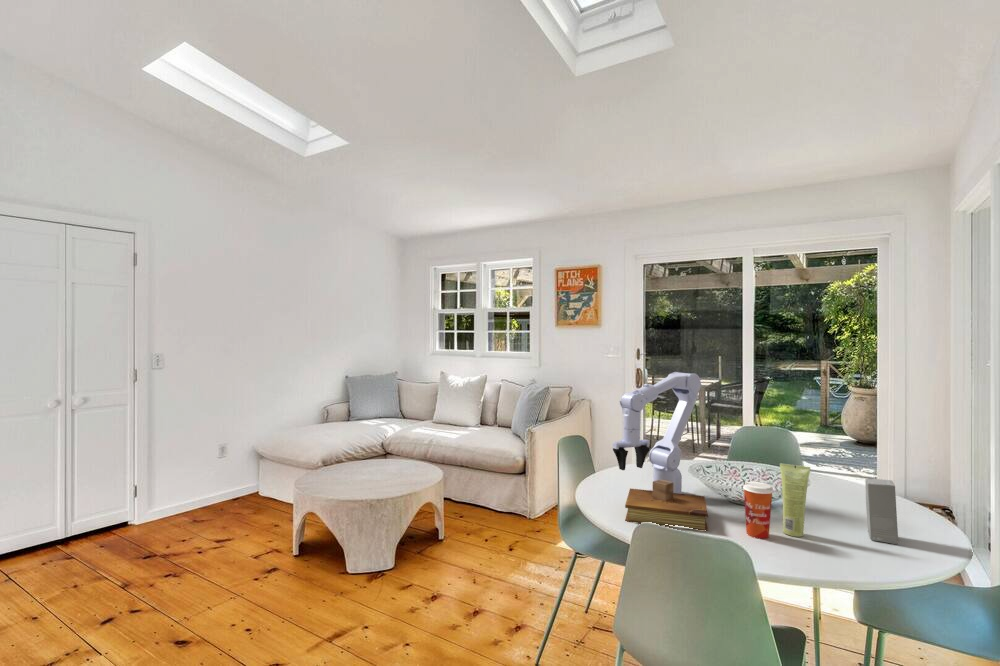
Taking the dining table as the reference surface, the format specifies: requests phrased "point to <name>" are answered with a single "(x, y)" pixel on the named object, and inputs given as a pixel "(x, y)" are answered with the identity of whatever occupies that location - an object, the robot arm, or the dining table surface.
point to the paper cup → (757, 508)
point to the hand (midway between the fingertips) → (630, 468)
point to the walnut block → (662, 490)
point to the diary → (667, 509)
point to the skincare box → (881, 510)
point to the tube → (794, 497)
